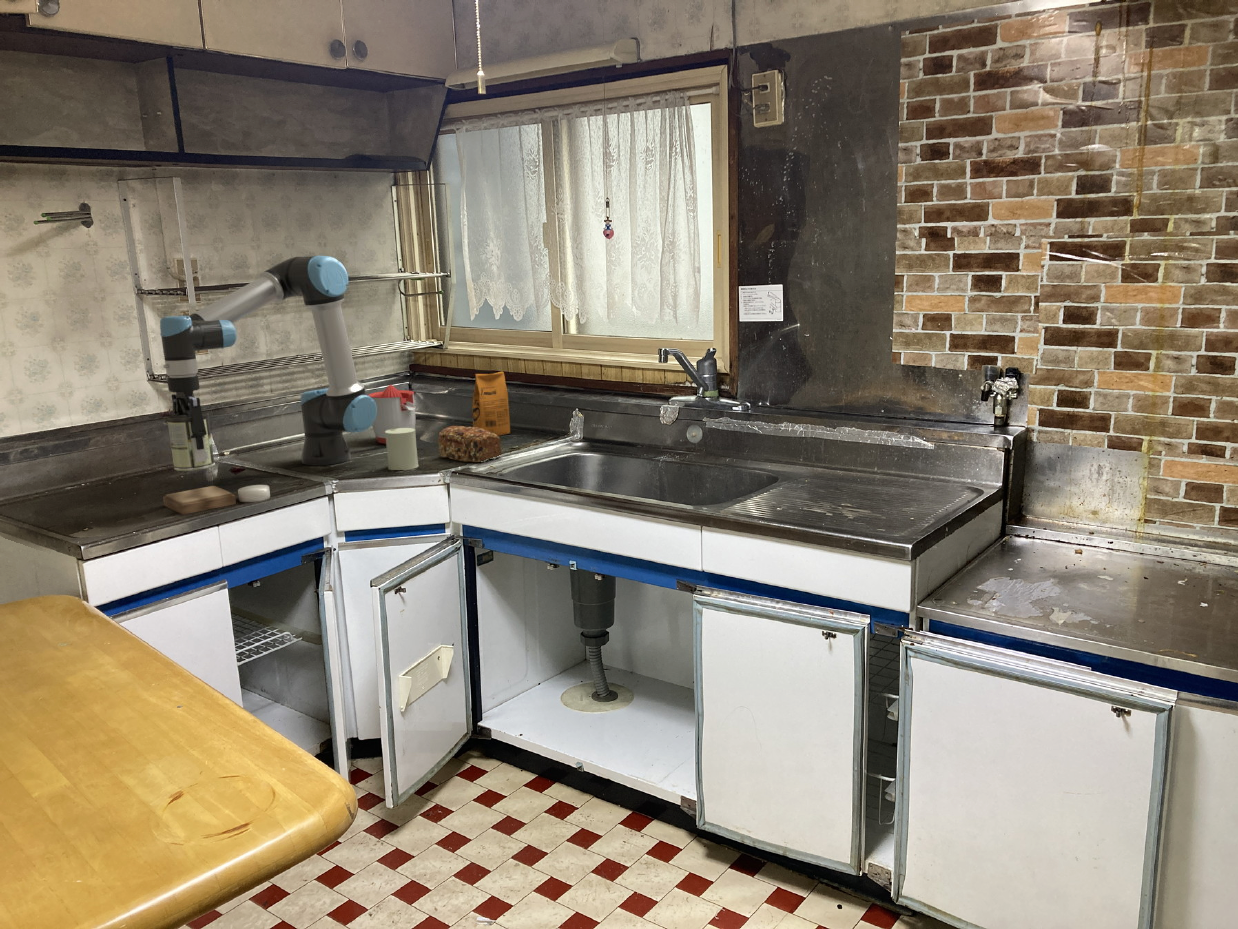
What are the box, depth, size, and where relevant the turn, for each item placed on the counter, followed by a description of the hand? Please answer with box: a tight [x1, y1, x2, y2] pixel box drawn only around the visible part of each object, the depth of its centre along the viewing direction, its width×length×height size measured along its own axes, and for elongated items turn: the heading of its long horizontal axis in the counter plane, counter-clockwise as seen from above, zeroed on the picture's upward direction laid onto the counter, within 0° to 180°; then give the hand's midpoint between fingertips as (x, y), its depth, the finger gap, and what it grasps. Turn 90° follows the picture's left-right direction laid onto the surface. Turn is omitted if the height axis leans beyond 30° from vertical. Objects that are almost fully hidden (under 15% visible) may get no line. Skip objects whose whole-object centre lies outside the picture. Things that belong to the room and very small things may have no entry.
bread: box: [437, 425, 502, 463], centre depth 307 cm, size 19×11×10 cm, turn 51°
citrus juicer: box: [367, 384, 417, 445], centre depth 336 cm, size 16×17×20 cm
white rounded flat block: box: [237, 484, 271, 503], centre depth 266 cm, size 8×8×3 cm
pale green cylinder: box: [385, 428, 420, 471], centre depth 297 cm, size 9×9×12 cm
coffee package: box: [472, 371, 511, 437], centre depth 343 cm, size 10×12×22 cm
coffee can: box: [166, 411, 216, 472], centre depth 257 cm, size 10×10×14 cm
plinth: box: [162, 485, 237, 516], centre depth 261 cm, size 14×14×3 cm
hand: (193, 458), depth 258 cm, fingers closed on coffee can, 10 cm apart
